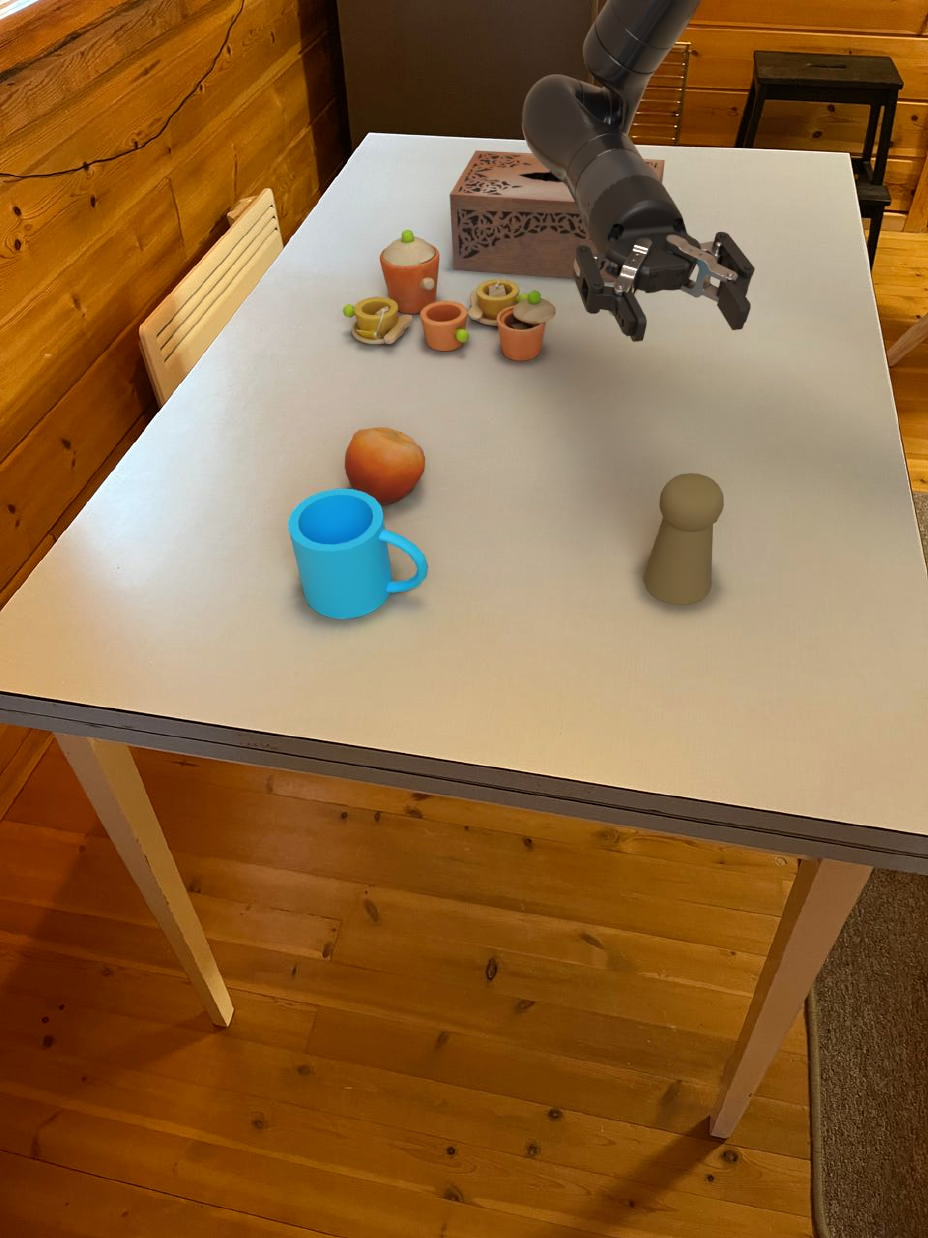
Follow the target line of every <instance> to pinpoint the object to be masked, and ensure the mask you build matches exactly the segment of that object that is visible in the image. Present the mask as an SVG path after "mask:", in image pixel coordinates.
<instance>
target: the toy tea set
mask: <svg viewBox="0 0 928 1238" xmlns="http://www.w3.org/2000/svg"><path fill="white" fill-rule="evenodd" d="M379 263H380V267H381V271H382V274H383V277H384V283H385V287H386V290H387V293H388V297H384V296H371V297H367V298H364V299H361V300H360V301H358V302H357V303H356V304H355V305H352V304H346V305H344V306H343V308H342V313H343V316H344V317H346V318H349V319H350V318H353V317H355V319H356V320H355V322H353V324H352V327H351V333H352V336H353V338H355V339H356V340H357V341H358V342H361V343H364V344H368V345H382V344H386V345H387V344H388V345H389V344H390V345H392V344H393V343H395V342H396V340H398V339H400V338H401V337H402V336H403V335H404V333H405V331H406V328H408V327H410V326H411V325H412V324H413V321H414V320H413V316H412V314H413V315H414V314H415V315H416V314H419V317H420V322H421V325H422V330H423V333H424V337H425V342H426V344H427V345H428V347H429V348H431V349H432V350H434V351H439V352H451V351H454V350H457V349H458V348H460V347H461V346H462V345H463V344H464V343H466V342H467V341H469V338H470V333H469V331H468V330H467V329H466V328H467V321H468V318H469V319H471V320H473V321H477V322H478V323H480V324H483V325H486V326H497V330H498V335H499V340H500V341H499V342H500V346H501V351H502V354H503V355H504V356H505V357H506V358H508V359H510V360H512V361H516V362H517V361H518V362H523V361H530V360H532V359H534V358H536V357H537V356H538V355H540V353H541V351H542V346H543V340H544V334H545V329H546V323H547V322H548V321H550V320H552V319H553V318H554V317H555V316H556V314H557V313H556V312H557V309H556V306H555V304H553V303H552V302H550V301H549V300H547V299H545V298H543V297H542V295H541V293H540V292H539V291H538V290H535V289H534V290H531V291H529V293H528V294H527V293H522V294H520V287H519V285H518V284H517V283H516V282H514V281H512V280H509V279H504V278H502V279H501V278H499V277H497V278H495V279H488V280H485V281H483V282H481V283H480V284H478V286H476V289H475V290H473V291H471V292H470V296H469V297H470V306H471V307H470V308H469V309H467V307H466V306H465V305H463V304H462V303H460V302H457V301H454V300H438V301H437V289H438V279H439V278H438V277H439V268H440V267H439V266H440V252H439V250H438V248H437V246H435V245H433V244H431V243H429V242H427V241H426V240H425V239H422V238H420V237H417V236H414V233H413V231H412V230H410V229H405V230H402V233H401V237H399V238H397V239H395V240H394V241H392V242H391V243H390V244H389V245H387V246H386V247H385V248H383V250H382V251H381V252H380V255H379ZM399 313H403V314H401V315H400V316H399Z"/></svg>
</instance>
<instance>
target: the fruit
mask: <svg viewBox="0 0 928 1238" xmlns="http://www.w3.org/2000/svg"><path fill="white" fill-rule="evenodd" d="M425 469H426V457H425V454H424V449H423V448H422V447H421V446H420V445H419V444H418V443H417V442H416V441H415V440H414V438H413V437H411V436H410V435H407V434H406V433H403V432H402V431H398V430H395V429H393V428H389V427H381V426H379V427H378V426H377V427H371V428H365V429H359V430H357V431H356V432H354V433H353V435H352V438H351V439H350V442H349V444H348V446H347V448H346V451H345V454H344V471H345V474H346V477H347V480H348V483H349V485H350V487H351V489H353V490H357V491H361V492H365V493H366V494H368V495H370V496H372V497H373V498H375V499H376V501H377V502H378V503H379V504H380V506H382V505H388V504H392V503H397V502H399V501H401V500H402V499H404V498H405V497H406V496H407V495H409V494H410V493H411V492H412V491H413V490H414V488H415V487H416V486H417V484H418V483H419V481H420V480H421V478H422V475H423V474H424V472H425Z"/></svg>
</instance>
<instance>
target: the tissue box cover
mask: <svg viewBox="0 0 928 1238" xmlns="http://www.w3.org/2000/svg"><path fill="white" fill-rule="evenodd" d="M643 160H644V161H645V162H646V163H647V164H648V165H649V166H650V167H651V168H652V169H653V170H654V172H655V173H656V175H657V176H658V178H659V179H660V181H661V182H662V183H663V181H664V180H663V179H664V172H665V171H664V170H665V162H666V161H665V159H654V158H653V159H651V158H643ZM449 207H450V210H449V211H450V226H451V227H450V228H451V245H452V264H453V265H452V266H453V270H458V271H471V272H484V273H497V274H509V275H510V274H511V275H522V276H535V277H536V276H537V277H549V278H563V279H574V277H573V268H574V262H575V255H576V248H577V247H578V246H587V247H589V248H590V249H591V252H592V254H599V253H598V252H597V250H596V248H595V246H594V244H593V242H592V240H591V238H590V236H589V234H588V232H587V230H586V229H585V227H584V225H583V222H582V220H581V217H580V213H579V209H578V207H577V205H576V203H575V201H574V199H573V197H572V195H571V193H570V191H569V189H568V187H567V186H566V185H565V184H564V183H563V182H562V181H561V180H559V179H558V178H557V177H556V176H554V175H553V174H552V173H551V172H550V171H549V170H548V169H547V168H546V167H545V166H544V165H543V164H542V163H541V162H540V161H539V160H538V159H537V158H536V157H535V156H534V154H533V153H532V152H516V151H515V152H513V151H493V150H492V151H491V150H474V152H473V154H472V155H471V157H470V159H469V161H468V163H467V164H466V166H465V168H464V170H463V171H462V173H461V174H460V176H459V178H458V180H457V182H456V183H455V185H454V186H453V188H452V190H451V192H450V193H449ZM600 274H601V277H602V279H603V281H604V282H613V283H615V282H616V280H617V279H616V278H614V277H612V276H610V275H608V274H607V273H606V272H605V270H604V269H603V270H601V271H600Z"/></svg>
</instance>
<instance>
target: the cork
mask: <svg viewBox="0 0 928 1238" xmlns="http://www.w3.org/2000/svg"><path fill="white" fill-rule="evenodd" d="M659 497H660V498H659V504H658V505H659V511H660V513H661V516H662V519H661V522H660V524H659V528H658V530H657V534H656V537H655V540H654V543H653V546H652V548H651V552H650V555H649V558H648V561H647V564H646V567H645V570H644V573H643V583H644V586H645V589H646V590H647V591H648V592H649V594H650V595H651V596H653V597H655V598H656V599H657V600H659V601H661V602H664V603H667V604H669V605H678V606H685V605H693V604H695V603H697V602H701V601H703V599H704V598H706V597H707V596H708V595H709V593H710V591H711V589H712V572H713V571H712V569H713V542H714V541H713V540H714V539H713V538H714V535H713V534H714V524H715V523H717V521H718V519H719V518H720V516H721V514H722V513H723V510H724V506H725V505H724V503H725V499H724V498H725V497H724V493H723V491H722V488H721V487H720V485H719V484H718V483H717V482H716V481H715V480H714V479H712V478H711V477H709V476H707V475H704V474H700V473H693V472H688V473H680V474H678V475H675V476H673V478H670V480H669V481H667V482H666V483H665V485H664V486H663V488H662V489H661V491H660V495H659Z"/></svg>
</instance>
